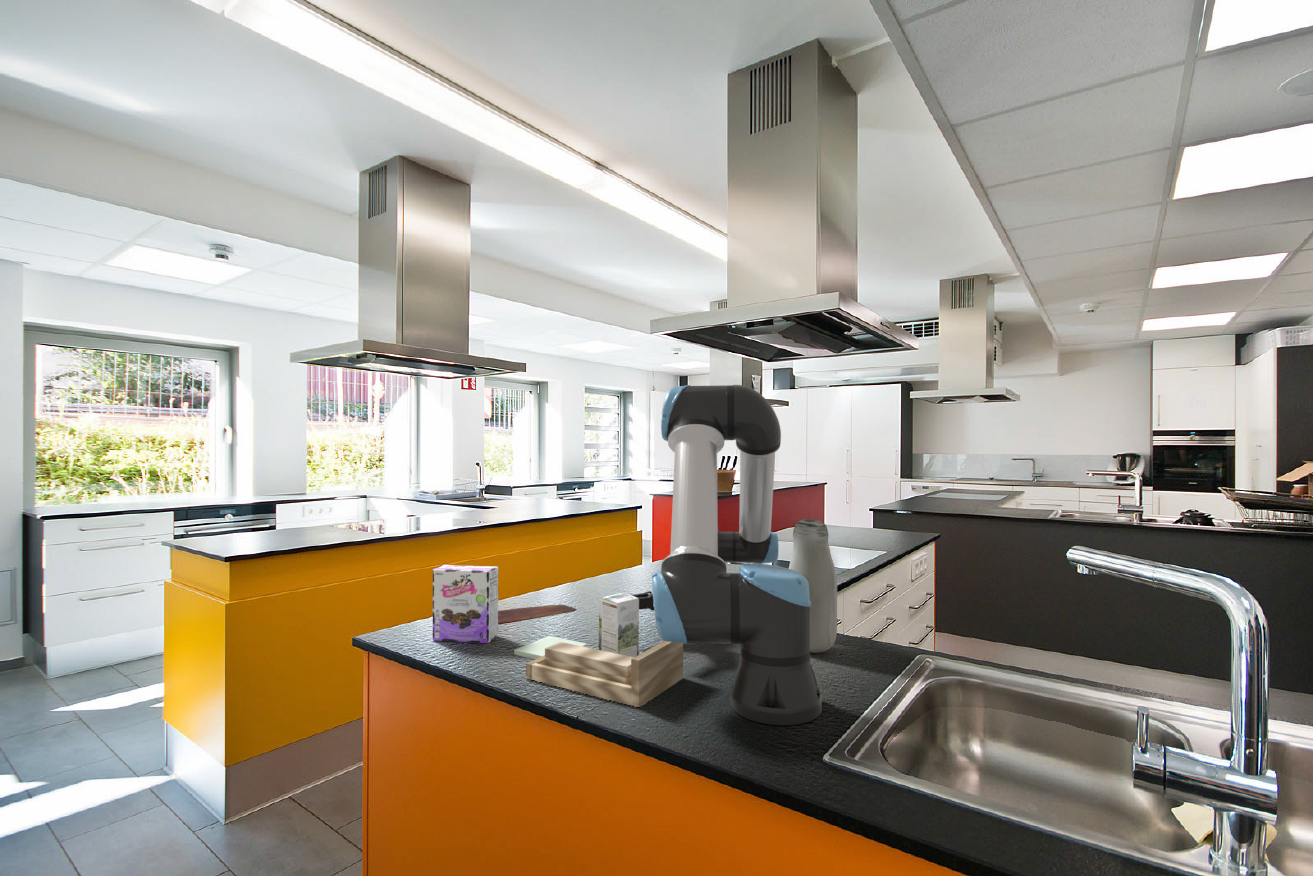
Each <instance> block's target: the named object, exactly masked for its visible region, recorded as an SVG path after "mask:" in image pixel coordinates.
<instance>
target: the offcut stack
mask: <svg viewBox="0 0 1313 876" xmlns="http://www.w3.org/2000/svg"><path fill="white" fill-rule="evenodd" d="M632 658H634V657H630V656H625V655H621V654H616V653H611V652H606V651H601V650H599V649H596V648H591V647H588V648H587V647H582V646H578V645H573V644H568V643H563V642H559V643H557V644H554V645H552V646H550V647H547V648H545V658H544V659H543V665H545V666H550V667H554V668H558V669H562V670H567V671H571V672H575V673H579V674H584V675H588V676H592V677H596V678H600V679H605V680H609V681H613V682H617V683H622V684H626V685H630V686H631V659H632Z"/></svg>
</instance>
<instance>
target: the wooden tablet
mask: <svg viewBox="0 0 1313 876" xmlns="http://www.w3.org/2000/svg"><path fill="white" fill-rule="evenodd" d="M573 610H574V611H576V610H577V608H575V607H572V606H569V605H567V604H566V605H565V604H553V605H552V604H549V605H539V606H529V607H528V606H527V607H518V608H510V609H503V610H501V609H500V610H498V625H499V624H509V623H512V622H513V623H514V622H519V621H525V620H531V618H532V619H536V618H544V617H548V616H554V614H555V615H558V614H564V613H569V612H573Z"/></svg>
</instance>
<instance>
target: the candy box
mask: <svg viewBox="0 0 1313 876" xmlns="http://www.w3.org/2000/svg"><path fill="white" fill-rule="evenodd" d="M498 611H499V566H495V565H494V566H491V565H490V566H488V565H486V566H483V565H482V566H481V565H476V566H475V565H456V564H455V565H453V564H452V565H451V564H443V565H440V566H438V567H436V568H433V569H432V641H436V642H454V643H455V642H456V643H458V642H459V643H475V644H476V643H478V644H489V643H491V642H492V641H493V640H495V639H496V638H498V637H499V624H498Z"/></svg>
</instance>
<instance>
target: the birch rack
mask: <svg viewBox="0 0 1313 876" xmlns="http://www.w3.org/2000/svg"><path fill="white" fill-rule="evenodd" d="M544 658H545V655H544V656H542V657H539V658H537V659H532V660H530V661H528V662H526V663H525V679H526V678H529V679H531V680H535V681H538V682H537V683H539V682H543V683H547V684H550V685H553V686H552V687H554V686H557V687H556V688H558V687H563V688H567V689H570V690H572V691H571V692H574V691H578V692H581V693H580V694H582V693H585V694H588V695H587V696H589V695H591V696H590V697H593V696H598V697H601V698H604V699H603V700H605V699H607V700H606V701H609V700H613V701H617V702H620V703H623V704H622V705H624V704H627V705H626V706H628V705H634V706H636V707H640V706H641V707H643V706H644V705H646V704H647V703H649V702H651V700H652V701H653V699H655V698H656V697H658V696H659V695H661V694H662V693H664V692H665V691H667V690H668V689H669V688H671V687H673V686H674V685H676V684H677V683H679V682H680V681H681V680H683V679H684V643H680V642H668V641H664V640H663V641H662V642H660V643H658V644H656V645H654V646H652V647H651V648H649V649H647V650H645V651H644V652H641V653H639V655H638V656H636V657H634V658H632V659H631V686H630V685H626V684H622V683H617V682H613V681H609V680H605V679H600V678H596V677H592V676H588V675H584V674H579V673H575V672H571V671H567V670H562V669H558V668H554V667H550V666H545V665H543V659H544ZM531 680H530V681H531ZM535 681H534V682H535ZM543 683H542V684H543ZM547 684H546V685H547ZM550 685H549V686H550ZM570 690H569V691H570ZM578 692H577V693H578ZM585 694H584V695H585ZM654 697H655V698H654ZM601 698H600V699H601ZM613 701H612V702H613ZM648 701H649V702H648ZM617 702H616V703H617ZM646 702H647V703H646ZM620 703H619V704H620ZM642 705H643V706H642ZM636 707H635V708H636ZM641 707H640V708H641Z"/></svg>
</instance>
